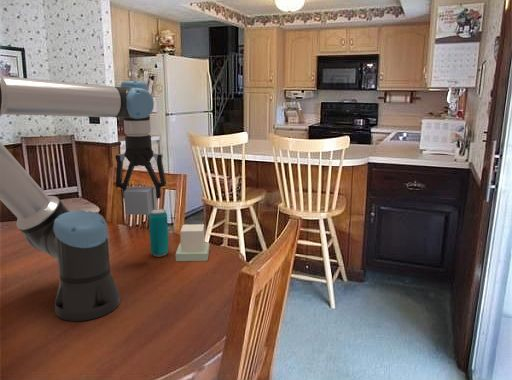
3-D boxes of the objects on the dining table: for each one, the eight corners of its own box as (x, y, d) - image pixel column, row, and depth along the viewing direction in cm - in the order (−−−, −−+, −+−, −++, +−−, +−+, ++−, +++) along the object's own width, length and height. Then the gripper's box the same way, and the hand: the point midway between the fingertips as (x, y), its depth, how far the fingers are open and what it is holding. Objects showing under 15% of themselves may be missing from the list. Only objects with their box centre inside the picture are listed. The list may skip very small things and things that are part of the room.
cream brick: (203, 251, 135) (202, 231, 134) (181, 252, 135) (180, 231, 133) (204, 244, 142) (204, 224, 140) (183, 244, 142) (183, 224, 140)
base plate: (207, 260, 134) (207, 253, 134) (175, 261, 134) (175, 253, 133) (209, 249, 144) (209, 242, 143) (179, 249, 144) (179, 242, 143)
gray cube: (148, 214, 125) (146, 192, 123) (125, 214, 125) (123, 191, 124) (155, 208, 132) (154, 186, 130) (133, 207, 132) (132, 186, 130)
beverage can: (169, 250, 143) (167, 208, 139) (167, 257, 137) (165, 213, 134) (152, 251, 142) (150, 208, 139) (149, 257, 137) (147, 213, 133)
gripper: (174, 133, 129) (177, 204, 134) (106, 133, 128) (112, 206, 133) (170, 135, 122) (174, 211, 127) (99, 136, 121) (106, 212, 126)
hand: (142, 208), depth 130 cm, fingers closed on gray cube, 7 cm apart
